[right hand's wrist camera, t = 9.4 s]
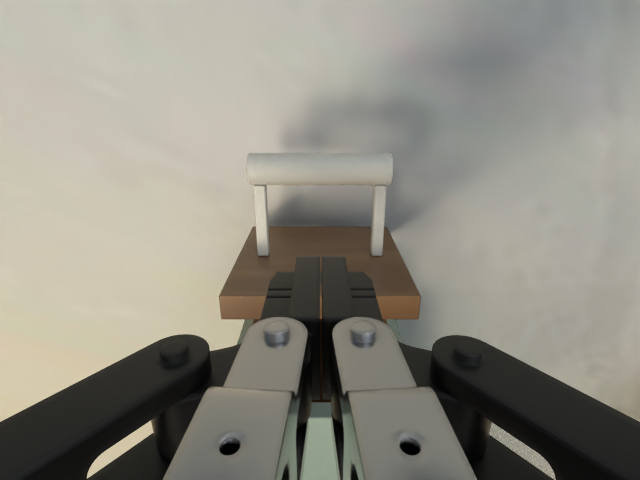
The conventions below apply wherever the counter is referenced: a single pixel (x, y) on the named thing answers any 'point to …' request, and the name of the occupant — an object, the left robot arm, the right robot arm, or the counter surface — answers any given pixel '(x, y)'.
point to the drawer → (319, 236)
